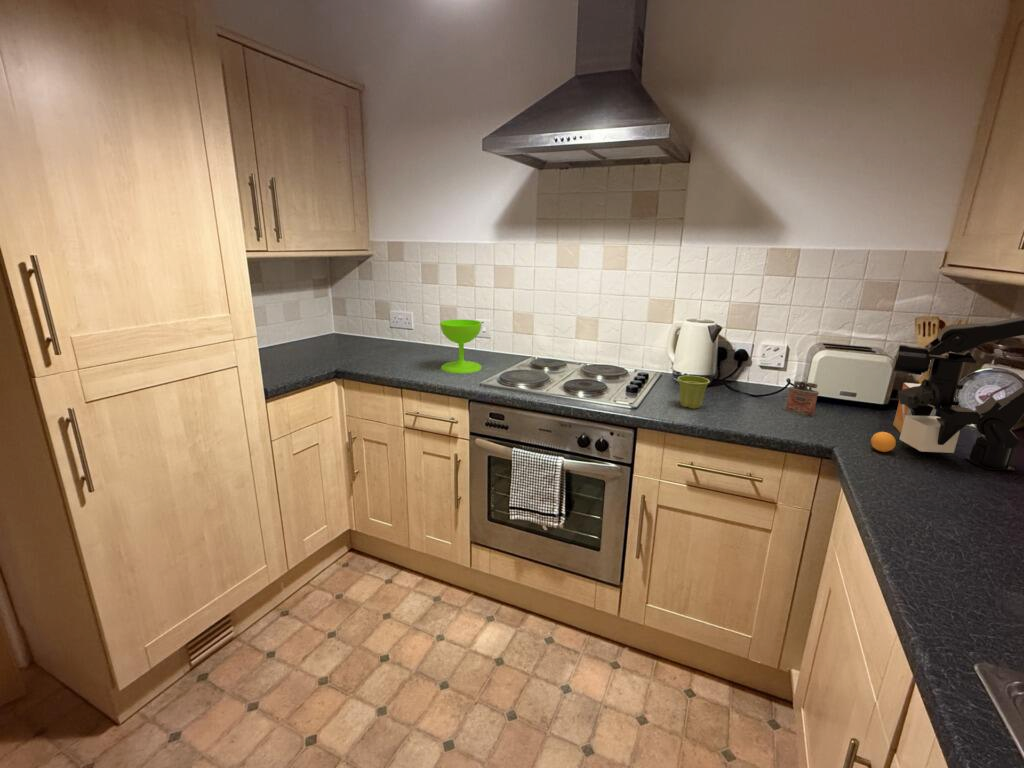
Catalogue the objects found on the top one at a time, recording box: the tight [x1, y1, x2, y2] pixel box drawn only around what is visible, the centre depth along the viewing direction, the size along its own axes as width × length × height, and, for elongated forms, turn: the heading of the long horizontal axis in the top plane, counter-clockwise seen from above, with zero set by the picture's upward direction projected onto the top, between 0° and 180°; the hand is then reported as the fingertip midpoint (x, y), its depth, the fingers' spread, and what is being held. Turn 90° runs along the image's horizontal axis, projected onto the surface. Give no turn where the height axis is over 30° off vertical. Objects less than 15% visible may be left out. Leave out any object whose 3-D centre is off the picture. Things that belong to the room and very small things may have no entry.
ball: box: [870, 431, 897, 453], centre depth 127 cm, size 5×5×5 cm
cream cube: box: [899, 415, 961, 454], centre depth 125 cm, size 8×8×7 cm
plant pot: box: [677, 375, 711, 409], centre depth 158 cm, size 9×9×9 cm
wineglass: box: [439, 318, 483, 374], centre depth 197 cm, size 16×16×18 cm
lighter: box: [784, 380, 820, 417], centre depth 153 cm, size 8×3×10 cm, turn 47°
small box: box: [892, 382, 937, 434], centre depth 139 cm, size 8×6×13 cm
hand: (928, 438), depth 125 cm, fingers closed on cream cube, 8 cm apart
